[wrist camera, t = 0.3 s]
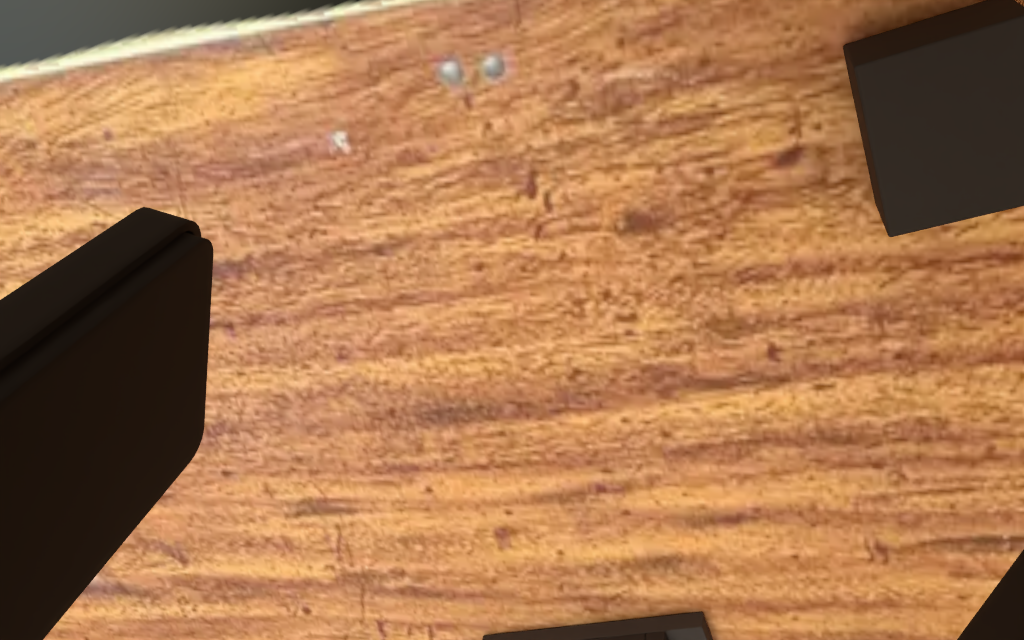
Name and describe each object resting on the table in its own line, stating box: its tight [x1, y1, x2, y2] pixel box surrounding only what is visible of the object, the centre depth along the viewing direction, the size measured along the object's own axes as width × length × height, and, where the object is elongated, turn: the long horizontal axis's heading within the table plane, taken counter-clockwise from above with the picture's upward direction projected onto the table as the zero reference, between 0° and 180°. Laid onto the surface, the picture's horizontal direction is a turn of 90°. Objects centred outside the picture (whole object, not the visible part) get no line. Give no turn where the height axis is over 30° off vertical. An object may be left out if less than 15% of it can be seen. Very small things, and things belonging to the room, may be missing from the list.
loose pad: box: [843, 0, 1024, 237], centre depth 29 cm, size 6×5×3 cm
